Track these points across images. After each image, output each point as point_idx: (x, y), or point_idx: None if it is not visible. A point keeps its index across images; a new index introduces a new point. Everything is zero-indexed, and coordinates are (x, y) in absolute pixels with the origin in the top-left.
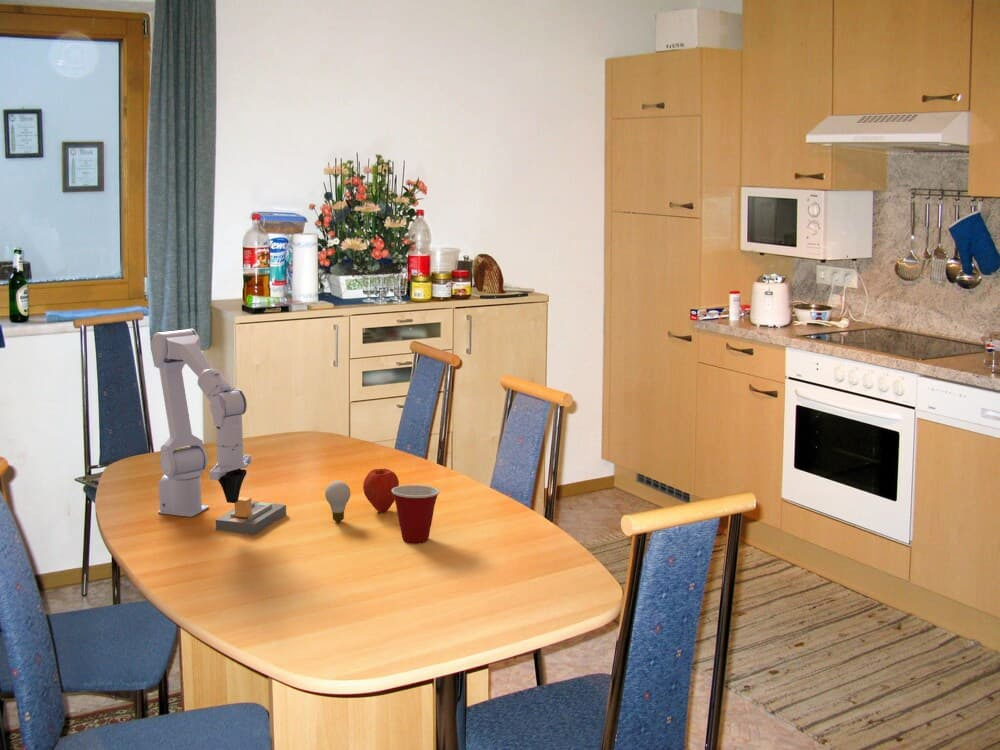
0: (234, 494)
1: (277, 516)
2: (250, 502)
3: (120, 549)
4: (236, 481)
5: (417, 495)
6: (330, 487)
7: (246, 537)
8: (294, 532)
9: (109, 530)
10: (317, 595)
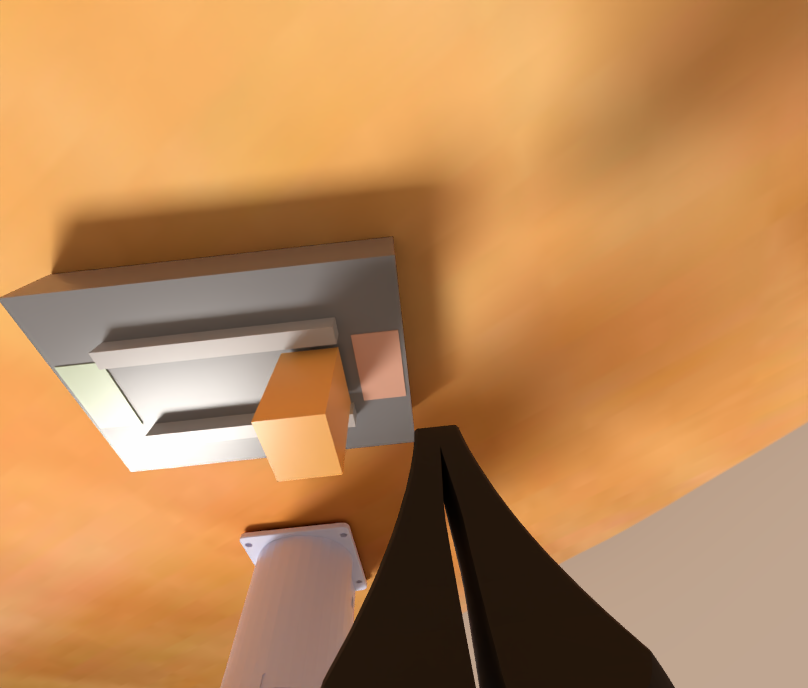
0: (486, 477)
1: (133, 271)
2: (273, 399)
3: (656, 507)
4: (567, 608)
5: None
6: None
7: (439, 251)
8: (222, 9)
9: None
10: None
